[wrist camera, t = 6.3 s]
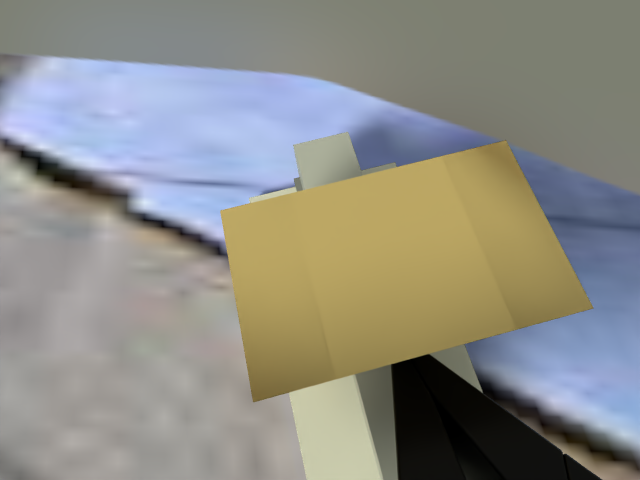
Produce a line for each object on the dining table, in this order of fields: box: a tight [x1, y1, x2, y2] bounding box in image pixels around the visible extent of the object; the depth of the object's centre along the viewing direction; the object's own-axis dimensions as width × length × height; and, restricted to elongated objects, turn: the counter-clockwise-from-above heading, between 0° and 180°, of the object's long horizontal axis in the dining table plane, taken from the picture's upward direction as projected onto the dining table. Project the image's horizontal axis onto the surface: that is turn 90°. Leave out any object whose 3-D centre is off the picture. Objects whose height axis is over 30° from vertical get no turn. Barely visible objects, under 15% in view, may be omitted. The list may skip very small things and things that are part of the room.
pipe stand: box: [249, 132, 483, 480], centre depth 12 cm, size 23×8×5 cm, turn 15°
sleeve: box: [220, 140, 593, 402], centre depth 11 cm, size 4×7×8 cm, turn 105°
